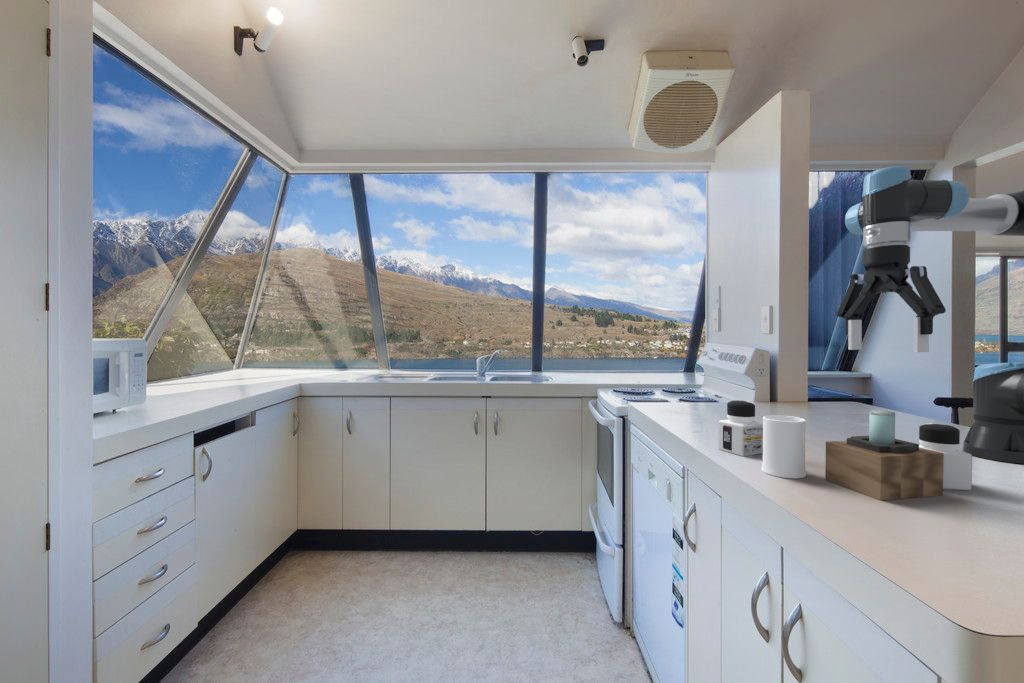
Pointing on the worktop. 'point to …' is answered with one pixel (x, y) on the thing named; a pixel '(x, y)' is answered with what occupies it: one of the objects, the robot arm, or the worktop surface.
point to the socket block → (884, 468)
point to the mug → (784, 446)
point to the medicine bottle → (948, 454)
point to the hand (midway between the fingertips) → (885, 351)
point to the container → (741, 430)
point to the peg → (882, 427)
